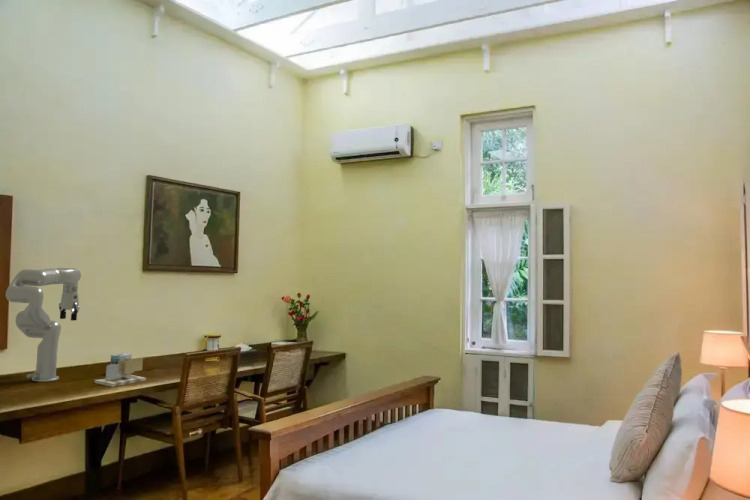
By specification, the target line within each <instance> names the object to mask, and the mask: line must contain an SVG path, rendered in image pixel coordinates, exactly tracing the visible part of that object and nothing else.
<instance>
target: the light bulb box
mask: <svg viewBox="0 0 750 500" xmlns="http://www.w3.org/2000/svg"><path fill="white" fill-rule="evenodd" d="M121 359H132V354H131V353H127V352H126V353H125V352H120V353H116V354H111V355H110V364H109V365H113V364H118V360H121Z"/></svg>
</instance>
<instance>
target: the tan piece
mask: <svg viewBox="0 0 750 500" xmlns="http://www.w3.org/2000/svg"><path fill="white" fill-rule="evenodd" d="M125 360H126V359H121V360H118V364H120V363H121V364H122V365H121V374H129V373H131V374H134V373H135V372H139V371H143V363H144V362H143V361H144V357H137V358H131V359H128V361H125Z"/></svg>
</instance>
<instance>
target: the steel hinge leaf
mask: <svg viewBox="0 0 750 500" xmlns="http://www.w3.org/2000/svg"><path fill="white" fill-rule="evenodd" d="M125 361H128V359H126V360H125ZM121 365H122V364H121V363H120V364H113V365H110V364H108V365H107V364H106V367H105V378H106V379H105V378H104V379H105V382H108V381H113V380H119V379H130V378H131V375H132V373H129V374H121Z"/></svg>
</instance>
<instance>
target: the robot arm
mask: <svg viewBox="0 0 750 500" xmlns="http://www.w3.org/2000/svg"><path fill="white" fill-rule="evenodd" d="M81 276H82V273H81V270H79V269H78V268H74V267H72V268H71V267H58V268H57V267H56V268H46V269H45V268H44V269H22V270H20V271H19V272H18V273H17V274H16V275H15V276H14V278H13V279H12V281H11V283H10V284H9V285H8V287H7V289H6V290H5V298H6V299H7V301H8V302H10V303H19V304H21V303H22V304H28V305H27V306H26V307H25V308H24V310H20V311H19V312H18V313H17V314H16V316H15V325H16V327H17V328H18V329H19V330H20V332H22V333H23V334H24V336H26V337H28V338H32V339H42V340H41V341H40V342H39V344H38V346H37V348H36V349H37V352H36V364H35V365H36V366H35V370H34V371H33V373H28V374H26V378H27V379H31V380H32V381H33V382H42V383H43V382H45V383H46V382H54V381H57V380H59V379H60V376H58V375H57V362H58V360H57V359H58V345H59V339H60V335H61V330H62V327H61V324H60V323H59V322H57V321H55V320H51V318H50V316H49V315H48V314H47V312H46V311H45V310H44V309H43V308H42V307H43V301H44V292H43V290H42V289H41V288H40V287H43V286H49V285H62V293H61V299H60V303H58V308H59V314H60V315H59V319H60V320H65V319H66V318H67V310H69V311H71V313H70V321H77V320H78V313H79V310H80V305H79V304H80V303H79V300H80V298H79V292H78V289H79V288H78V287H79V286H78V284H79V281H80V280H81V278H82V277H81Z"/></svg>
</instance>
